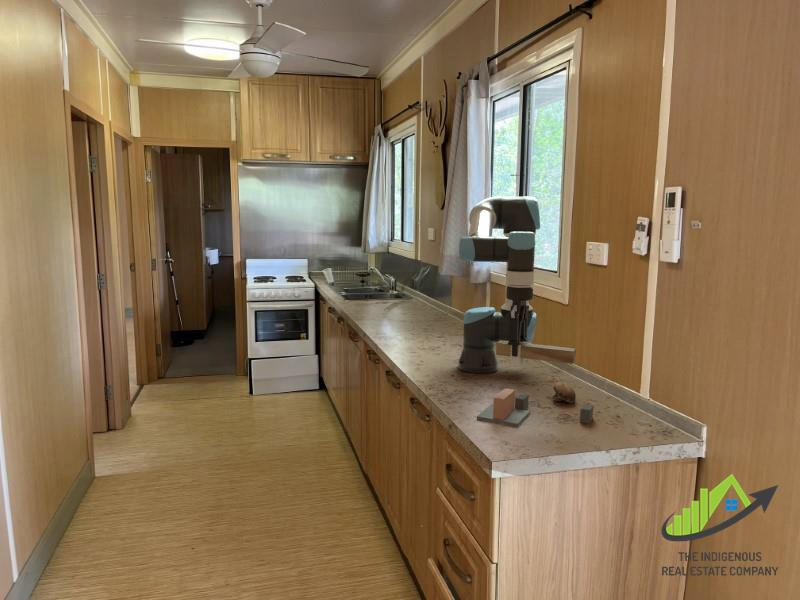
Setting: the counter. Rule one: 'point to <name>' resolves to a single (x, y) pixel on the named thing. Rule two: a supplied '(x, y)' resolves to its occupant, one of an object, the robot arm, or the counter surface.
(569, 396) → the mushroom
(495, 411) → the fulcrum
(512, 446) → the counter surface
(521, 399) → the grey blocks
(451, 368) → the counter surface
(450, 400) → the counter surface
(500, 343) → the rod
